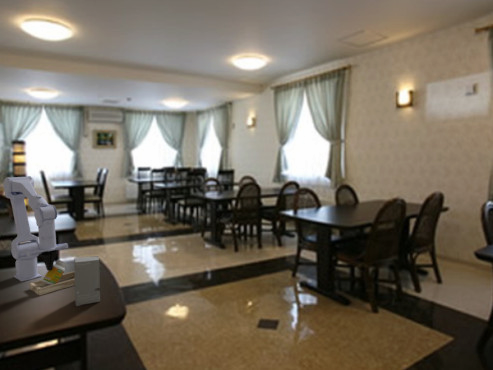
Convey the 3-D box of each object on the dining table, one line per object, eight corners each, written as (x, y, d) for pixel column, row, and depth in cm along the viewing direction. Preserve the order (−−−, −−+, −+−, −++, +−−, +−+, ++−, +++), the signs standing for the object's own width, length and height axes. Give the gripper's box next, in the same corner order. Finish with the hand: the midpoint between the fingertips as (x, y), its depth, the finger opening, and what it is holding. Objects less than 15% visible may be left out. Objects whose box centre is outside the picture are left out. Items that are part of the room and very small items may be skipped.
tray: (29, 289, 136) (29, 283, 135) (79, 275, 151) (78, 269, 151) (39, 295, 129) (39, 289, 129) (90, 280, 144) (89, 274, 144)
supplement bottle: (49, 284, 133) (63, 261, 138) (38, 280, 135) (53, 257, 139) (57, 287, 138) (71, 265, 142) (47, 283, 139) (60, 261, 144)
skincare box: (75, 306, 120) (73, 263, 118) (75, 299, 126) (72, 257, 125) (101, 301, 124) (99, 259, 122) (100, 294, 130) (98, 254, 128)
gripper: (30, 241, 127) (33, 277, 128) (70, 234, 138) (72, 266, 139) (23, 238, 131) (26, 272, 133) (63, 231, 143) (65, 263, 144)
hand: (49, 269), depth 136 cm, fingers closed
